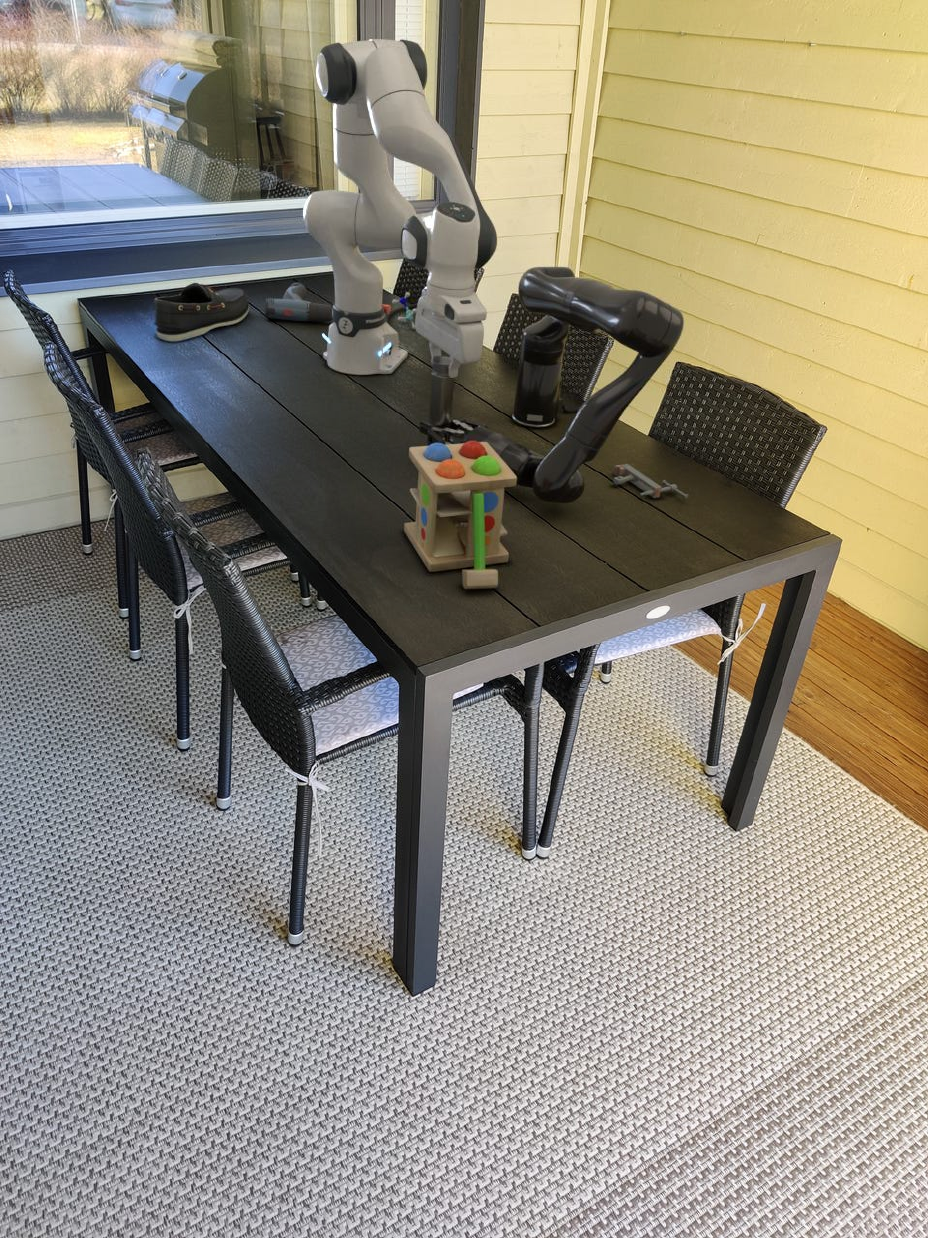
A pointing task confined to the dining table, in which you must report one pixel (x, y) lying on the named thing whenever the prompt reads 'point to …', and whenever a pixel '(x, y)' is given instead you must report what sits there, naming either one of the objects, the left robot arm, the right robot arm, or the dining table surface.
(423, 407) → the dining table surface
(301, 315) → the power drill
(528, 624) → the dining table surface
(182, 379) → the dining table surface
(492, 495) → the pounding bench toy
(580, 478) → the right robot arm
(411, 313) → the molecular model
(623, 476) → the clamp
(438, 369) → the lid
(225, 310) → the boat shoe
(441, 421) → the dark grey cylindrical bottle
